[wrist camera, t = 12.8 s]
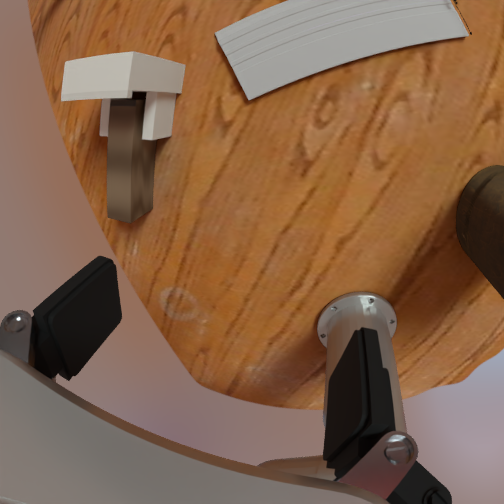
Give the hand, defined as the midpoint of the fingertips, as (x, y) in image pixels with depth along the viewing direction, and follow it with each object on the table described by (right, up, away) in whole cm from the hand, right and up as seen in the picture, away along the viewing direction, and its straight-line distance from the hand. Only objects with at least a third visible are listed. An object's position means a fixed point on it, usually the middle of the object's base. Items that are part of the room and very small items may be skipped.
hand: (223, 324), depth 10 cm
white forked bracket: (-13, +23, +24) cm, 36 cm away
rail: (-14, +16, +28) cm, 35 cm away
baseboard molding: (+12, +31, +15) cm, 36 cm away
